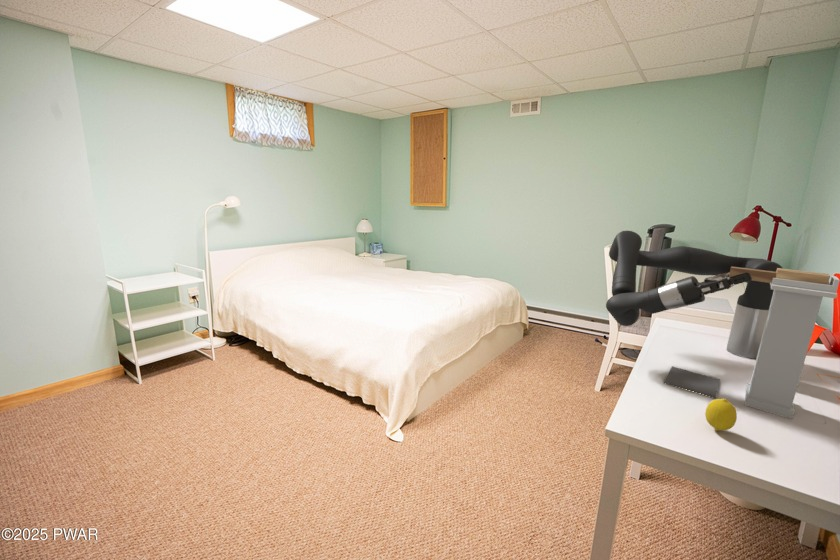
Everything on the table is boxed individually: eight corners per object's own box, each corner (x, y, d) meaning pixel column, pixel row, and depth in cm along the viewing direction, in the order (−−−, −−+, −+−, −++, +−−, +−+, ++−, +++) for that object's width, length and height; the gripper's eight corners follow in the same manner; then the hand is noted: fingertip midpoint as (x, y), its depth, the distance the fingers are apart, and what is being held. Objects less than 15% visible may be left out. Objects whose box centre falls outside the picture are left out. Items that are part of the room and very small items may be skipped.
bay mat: (671, 367, 120) (672, 366, 119) (719, 380, 112) (719, 379, 112) (663, 383, 109) (663, 381, 109) (715, 398, 102) (715, 396, 102)
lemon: (696, 423, 90) (703, 392, 88) (718, 423, 90) (725, 392, 89) (716, 438, 84) (723, 405, 83) (738, 437, 85) (747, 405, 83)
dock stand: (743, 389, 107) (773, 268, 100) (797, 404, 100) (834, 274, 93) (742, 404, 99) (775, 273, 91) (800, 421, 92) (841, 281, 84)
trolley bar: (729, 275, 103) (732, 262, 102) (823, 288, 92) (828, 273, 91) (728, 277, 100) (731, 264, 99) (826, 290, 89) (830, 276, 88)
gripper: (689, 301, 114) (757, 282, 103) (682, 310, 103) (757, 291, 93) (678, 277, 115) (744, 257, 104) (670, 285, 104) (743, 263, 94)
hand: (750, 273), depth 98 cm, fingers open, 8 cm apart
